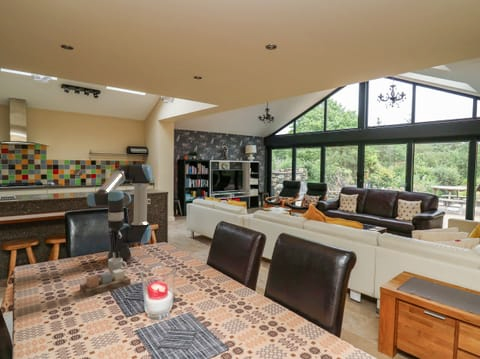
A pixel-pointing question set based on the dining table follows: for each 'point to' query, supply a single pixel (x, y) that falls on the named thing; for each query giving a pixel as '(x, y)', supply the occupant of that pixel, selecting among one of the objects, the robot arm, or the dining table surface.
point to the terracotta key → (92, 281)
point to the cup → (116, 265)
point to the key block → (104, 286)
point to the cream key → (118, 274)
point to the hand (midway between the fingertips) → (116, 263)
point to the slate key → (105, 278)
